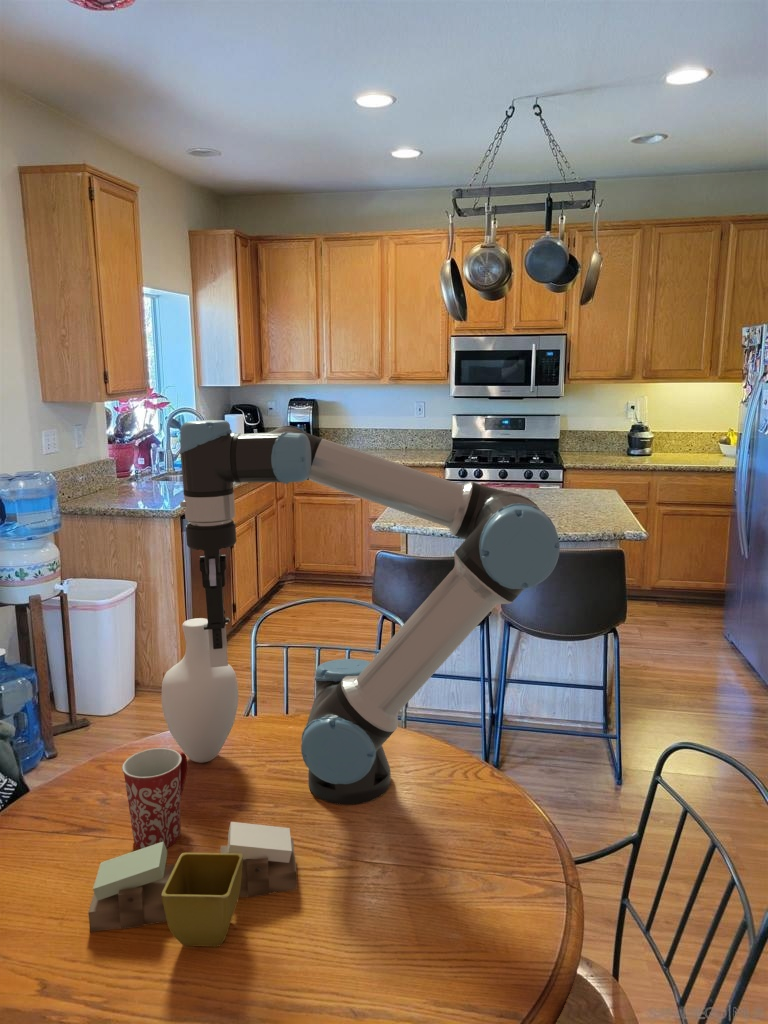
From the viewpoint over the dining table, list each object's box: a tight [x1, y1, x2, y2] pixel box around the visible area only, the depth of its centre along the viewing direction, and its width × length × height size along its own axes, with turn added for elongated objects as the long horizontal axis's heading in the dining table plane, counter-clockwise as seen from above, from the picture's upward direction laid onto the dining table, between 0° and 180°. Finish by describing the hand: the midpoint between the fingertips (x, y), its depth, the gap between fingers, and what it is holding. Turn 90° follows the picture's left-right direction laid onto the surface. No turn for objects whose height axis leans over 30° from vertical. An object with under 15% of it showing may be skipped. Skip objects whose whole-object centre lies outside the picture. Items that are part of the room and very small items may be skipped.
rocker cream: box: [227, 821, 292, 863], centre depth 108 cm, size 9×6×2 cm, turn 101°
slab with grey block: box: [87, 863, 176, 933], centre depth 102 cm, size 11×8×5 cm
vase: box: [161, 617, 239, 763], centre depth 140 cm, size 14×14×28 cm
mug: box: [121, 747, 188, 850], centre depth 118 cm, size 13×9×14 cm
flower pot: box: [162, 852, 243, 947], centre depth 97 cm, size 9×9×9 cm
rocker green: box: [92, 842, 168, 901], centre depth 102 cm, size 9×6×2 cm, turn 100°
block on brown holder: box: [219, 837, 298, 898], centre depth 108 cm, size 11×8×5 cm
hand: (219, 664), depth 117 cm, fingers closed
